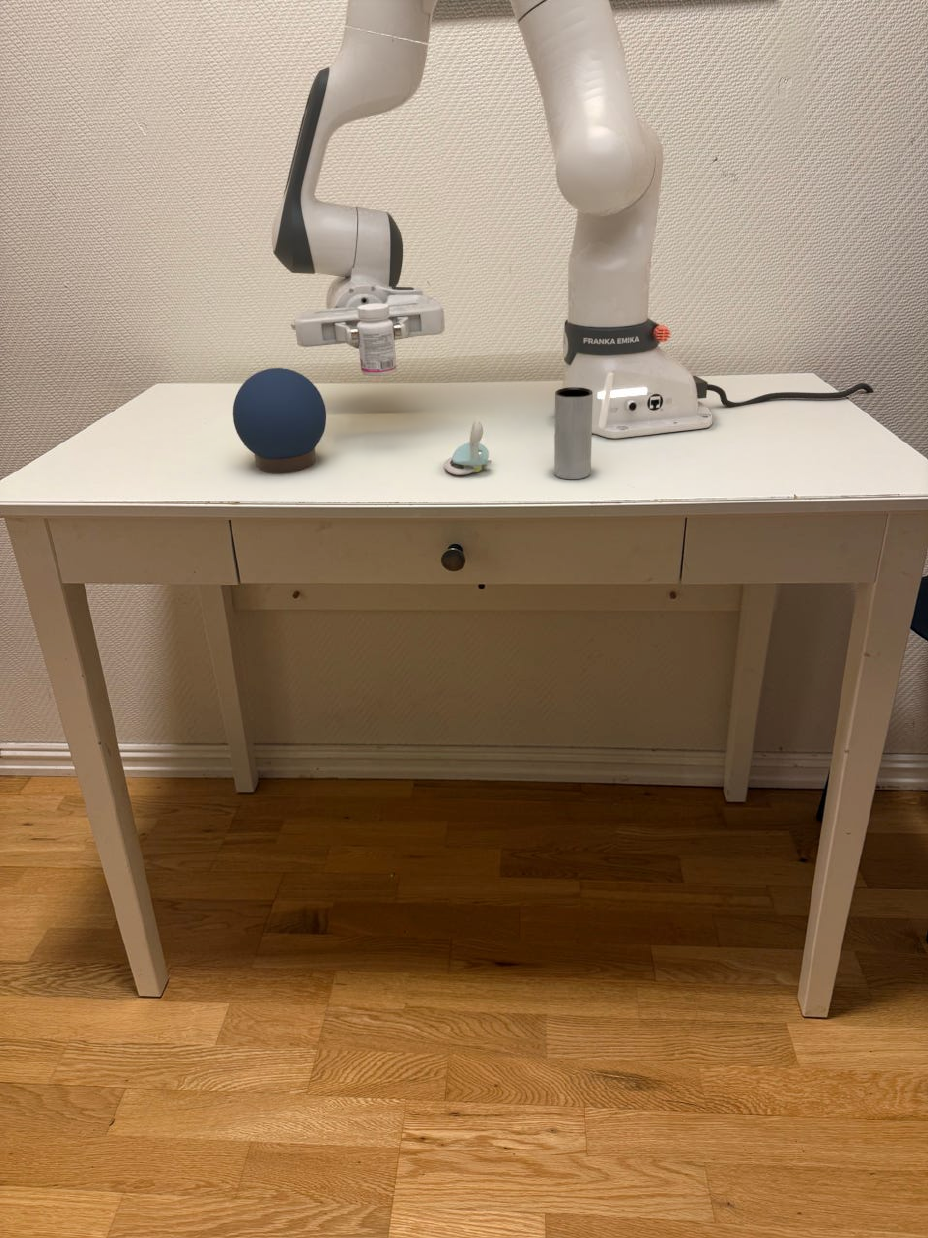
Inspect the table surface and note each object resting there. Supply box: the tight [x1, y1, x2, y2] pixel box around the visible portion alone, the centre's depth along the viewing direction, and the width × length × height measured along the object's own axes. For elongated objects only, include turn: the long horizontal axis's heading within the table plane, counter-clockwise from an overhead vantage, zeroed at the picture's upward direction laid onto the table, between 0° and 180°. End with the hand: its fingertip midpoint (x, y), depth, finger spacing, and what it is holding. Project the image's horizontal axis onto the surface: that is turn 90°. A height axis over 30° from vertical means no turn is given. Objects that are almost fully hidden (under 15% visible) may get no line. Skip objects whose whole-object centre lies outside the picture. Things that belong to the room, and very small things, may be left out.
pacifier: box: [443, 419, 492, 476], centre depth 116 cm, size 7×6×6 cm
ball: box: [232, 367, 327, 459], centre depth 119 cm, size 12×12×12 cm
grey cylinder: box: [553, 387, 593, 480], centre depth 112 cm, size 4×4×10 cm
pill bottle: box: [357, 303, 398, 377], centre depth 119 cm, size 5×5×8 cm
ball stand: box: [254, 447, 317, 474], centre depth 122 cm, size 8×8×2 cm
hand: (376, 334), depth 118 cm, fingers closed on pill bottle, 5 cm apart
